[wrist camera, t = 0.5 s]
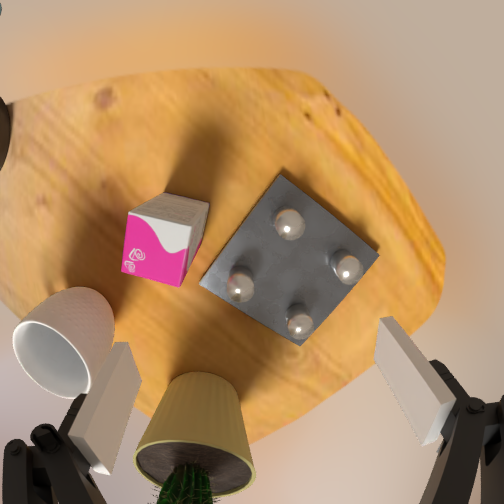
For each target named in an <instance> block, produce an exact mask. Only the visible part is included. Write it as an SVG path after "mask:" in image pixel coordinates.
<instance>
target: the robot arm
mask: <svg viewBox="0 0 504 504" xmlns="http://www.w3.org/2000/svg"><path fill="white" fill-rule="evenodd" d="M1 11H2V7H1V3H0V15H1ZM9 136H10V122H9V115H8V110H7V107H6V105H5V103H4V101H3V99H2V98H1V97H0V170H1V168H2V165H3V163H4V160H5V157H6V154H7V149H8V144H9ZM374 361H375V363H376V364H377V366H378V368H379V369H380V371H381V373H382V375H383V376H384V378H385V380H386V381H387V383H388V385H389V387H390V389H391V391H392V392H393V394H394V396H395V398H396V400H397V401H398V403H399V405H400V407H401V409H402V411H403V412H404V414H405V416H406V418H407V420H408V422H409V423H410V425H411V427H412V429H413V431H414V433H415V435H416V437H417V438H418V440H419V442H420V444H421V446H424V445H427V444H429V443H432V442H434V441H436V440H437V438H438V436H439V434H440V433H441V434H442V436H443V438H444V439H443V441H442V443H441V445H440V447H439V448H438V450H437V452H439V453H438V456H437V459H436V462H435V465H434V468H433V470H432V473H431V476H430V479H429V481H428V484H427V486H426V489H425V491H424V494H423V496H422V499H421V501H420V503H419V504H468V502H469V499H470V496H471V492H472V488H473V485H474V481H475V477H476V473H477V468H478V463H479V459H480V464H481V504H504V395H503V396H502V398H501V400H500V402H495V403H487V404H485V403H484V402H483V401H482V400H481V399H478V398H475V397H469V395H468V394H467V393H466V392H465V390H464V389H463V387H462V386H461V385H460V384H459V382H458V381H457V380H456V379H455V378H454V376H453V375H452V374H451V373H450V371H449V370H448V369H447V367H446V366H445V365H444V364H443V363H441V362H439V361H438V360H432V361H428V360H427V359H426V358H425V356H424V355H423V354H422V353H421V351H420V350H419V349H418V347H417V346H416V345H415V344H414V342H413V341H412V340H411V339H410V337H409V336H408V335H407V334H406V332H405V331H404V330H403V329H402V327H401V326H400V325H399V324H398V323H397V321H396V320H395V319H394V318H393V316H390V317H385V318H380V319H379V327H378V334H377V341H376V348H375V354H374ZM141 382H142V380H141V377H140V375H139V372H138V369H137V367H136V364H135V361H134V358H133V355H132V352H131V349H130V347H129V344H128V342H115V343H114V345H113V347H112V349H111V351H110V353H109V354H108V356H107V358H106V360H105V362H104V364H103V365H102V367H101V369H100V371H99V373H98V375H97V377H96V379H95V381H94V383H93V384H92V386H91V388H90V390H89V392H88V394H84V393H81V394H80V395H79V396H77V397H76V398H75V399H74V401H73V403H72V404H71V406H70V409H69V410H68V412H67V415H66V416H65V418H64V420H63V422H62V424H61V426H60V428H59V430H58V432H57V430H56V429H55V427H54V426H53V425H51V424H41V425H39V426H37V427H35V429H34V430H33V431H32V433H31V435H30V438H31V441H32V442H33V443H34V445H35V446H27V445H26V444H25V442H24V441H23V440H21V439H14V440H11V441H10V442H9V443H7V445H6V446H5V449H4V459H3V484H2V485H3V486H2V489H3V490H2V496H3V497H2V499H3V504H58V502H59V504H107V503H106V501H105V499H104V498H103V496H102V494H101V493H100V491H99V489H98V487H97V485H96V484H95V482H94V480H93V478H92V476H91V474H90V473H89V469H90V466H91V467H92V468H93V469H94V470H95V471H96V472H97V473H102V474H108V475H111V474H112V471H113V467H114V464H115V461H116V457H117V454H118V451H119V448H120V445H121V441H122V438H123V435H124V432H125V428H126V426H127V422H128V420H129V417H130V414H131V411H132V408H133V405H134V402H135V399H136V396H137V393H138V391H139V388H140V385H141Z"/></svg>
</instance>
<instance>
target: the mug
mask: <svg viewBox="0 0 504 504" xmlns="http://www.w3.org/2000/svg"><path fill="white" fill-rule="evenodd" d="M114 331H115V322H114V316H113V312H112V309H111V307H110V305H109V303H108V301H107V300H106V299H105V297H104V296H103V295H101V294H100V293H99V292H97V291H96V290H93V289H91V288H87V287H72V288H67V289H66V290H62V291H60V292H57V293H55V294H54V295H51V296H50V297H49V298H47V299H45V300H44V301H43V302H41V303H40V304H39V305H38V306H37V307H35V308H34V309H33V310H32V311H31V312H29V314H28V315H27V316H26V317H25V318H24V319H23V320H22V321H21V322H20V323H19V324H18V325H17V326H16V328H15V330H14V333H13V347H14V352H15V355H16V357H17V359H18V361H19V363H20V365H21V366H22V368H23V369H24V370H25V372H26V373H27V374H28V375H29V377H30V378H31V379H33V381H35V382H36V383H37V384H38V385H39V386H41V387H42V388H43V389H45V390H46V391H48V392H50V393H52V394H54V395H57V396H59V397H63V398H69V399H73V398H76V397H77V396H79V395H80V394H81V393H84V394H87V393H88V391H89V390H90V388H91V386H92V384H93V383H94V381H95V379H96V377H97V375H98V373H99V371H100V369H101V367H102V365H103V364H104V362H105V360H106V358H107V356H108V354H109V352H110V350H111V346H112V343H113V338H114Z"/></svg>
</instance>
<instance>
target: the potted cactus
mask: <svg viewBox="0 0 504 504" xmlns="http://www.w3.org/2000/svg"><path fill="white" fill-rule="evenodd" d="M133 463H134V466H135V468H136V469H137V471H138V472H139V473H140V474H141V475H142V476H143V477H144V478H145V479H147V480H148V481H149V482H151V483H152V484H154V485H156V486H158V487H160V488H162V489H161V491H160V494H159V499H158V500H157V504H213V498H215V499H216V498H217V497H225V496H230V495H233V494H237V493H239V492H242V491H243V490H245V489H247V488H248V487H249V486H251V485H252V484H253V482H254V481H255V478H256V472H255V468H254V466H253V461H252V457H251V453H250V448H249V444H248V440H247V435H246V431H245V426H244V421H243V417H242V412H241V407H240V402H239V398H238V394H237V392H236V390H235V388H234V387H233V386H232V385H231V384H230V383H229V382H228V381H227V380H225V379H224V378H222V377H220V376H217V375H215V374H211V373H207V372H189V373H185V374H182V375H180V376H178V377H176V378H175V379H174V380H173V381H172V382H171V383H170V384H169V386H168V388H167V390H166V392H165V394H164V395H163V397H162V399H161V401H160V403H159V405H158V407H157V409H156V411H155V413H154V415H153V417H152V419H151V421H150V423H149V425H148V427H147V429H146V431H145V433H144V435H143V437H142V439H141V441H140V442H139V444H138V447H137V449H136V451H135V454H134V456H133ZM153 496H154V495H153ZM157 498H158V497H157ZM214 502H216V501H214Z"/></svg>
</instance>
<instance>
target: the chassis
mask: <svg viewBox="0 0 504 504" xmlns="http://www.w3.org/2000/svg"><path fill="white" fill-rule="evenodd" d="M378 257H379V254H378V253H377V252H375V251H374V250H373V249H372V248H371V247H370V246H369V245H367V244H366V243H365V242H364V241H363V240H362V239H360V238H359V237H358V236H357V235H356V234H355V233H353V232H352V231H351V230H350V229H349V228H347V227H346V226H345V225H344V224H343V223H341V222H340V221H339V220H338V219H337V218H335V217H334V216H333V215H332V214H330V213H329V212H328V211H327V210H325V209H324V208H323V207H322V206H320V205H319V204H318V203H317V202H315V201H314V200H313V199H312V198H310V197H309V196H308V195H307V194H305V193H304V192H303V191H301V190H300V189H299V188H298V187H296V186H295V185H294V184H292V183H291V182H290V181H288V180H287V179H286V178H285V177H283V176H282V175H281V174H279V175H278V176H277V177H276V179H275V180H274V181H273V183H272V184H271V185H270V187H269V188H268V189H267V190H266V192H265V193H264V194H263V196H262V197H261V198H260V200H259V201H258V202H257V204H256V205H255V206H254V208H253V209H252V210H251V212H250V213H249V214H248V216H247V217H246V218H245V220H244V221H243V222H242V224H241V225H240V226H239V228H238V229H237V231H236V232H235V233H234V235H233V236H232V237H231V239H230V240H229V241H228V243H227V244H226V245H225V247H224V248H223V249H222V251H221V252H220V254H219V255H218V256H217V258H216V259H215V260H214V262H213V263H212V265H211V266H210V267H209V269H208V270H207V271H206V273H205V274H204V276H203V277H202V278H201V280H200V282H199V284H200V285H201V286H203V287H204V288H206V289H207V290H209V291H211V292H212V293H214V294H215V295H217V296H218V297H220V298H221V299H223V300H225V301H226V302H228V303H229V304H231V305H233V306H234V307H236V308H237V309H239V310H241V311H242V312H244V313H245V314H247V315H249V316H250V317H252V318H253V319H255V320H257V321H258V322H260V323H262V324H263V325H265V326H267V327H268V328H270V329H272V330H273V331H275V332H277V333H278V334H280V335H282V336H283V337H285V338H287V339H288V340H290V341H292V342H293V343H295V344H297V345H299V346H301V345H302V344H303V343H304V342H305V341H306V340H307V338H308V337H309V336H310V335H311V334H312V333H313V332H314V331H315V330H316V329H317V328H318V327H319V326H320V324H321V323H322V322H323V321H324V320H325V319H326V318H327V317H328V316H329V315H330V313H331V312H332V311H333V310H334V309H335V308H336V307H337V306H338V304H339V303H340V302H341V301H342V300H343V299H344V298H345V296H346V295H347V294H348V293H349V292H350V291H351V289H352V288H353V287H354V286H355V285H356V283H357V282H358V281H359V280H360V279H361V278H362V276H363V275H364V274H365V273H366V271H367V270H368V269H369V268H370V267H371V265H372V264H373V263H374V262H375V260H376V259H377V258H378Z"/></svg>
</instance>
